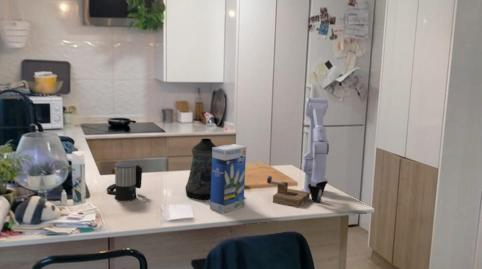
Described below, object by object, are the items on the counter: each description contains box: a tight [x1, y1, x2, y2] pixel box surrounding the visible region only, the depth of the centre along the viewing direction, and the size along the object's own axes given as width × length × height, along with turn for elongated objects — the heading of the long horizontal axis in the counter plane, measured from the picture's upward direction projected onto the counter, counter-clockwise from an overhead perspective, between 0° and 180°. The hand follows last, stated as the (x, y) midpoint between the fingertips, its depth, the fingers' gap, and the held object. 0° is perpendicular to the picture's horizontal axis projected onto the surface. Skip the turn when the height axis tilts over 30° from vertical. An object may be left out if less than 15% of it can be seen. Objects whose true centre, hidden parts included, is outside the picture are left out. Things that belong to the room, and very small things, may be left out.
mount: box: [272, 180, 311, 208], centre depth 213 cm, size 14×12×7 cm
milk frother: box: [106, 161, 143, 202], centre depth 208 cm, size 14×16×15 cm
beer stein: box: [185, 138, 217, 201], centre depth 215 cm, size 16×19×25 cm
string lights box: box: [209, 143, 247, 214], centre depth 197 cm, size 13×8×26 cm, turn 139°
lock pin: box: [266, 175, 284, 186], centre depth 215 cm, size 2×8×3 cm, turn 64°
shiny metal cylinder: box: [312, 189, 322, 204], centre depth 213 cm, size 4×4×6 cm
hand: (316, 198), depth 213 cm, fingers open, 7 cm apart
